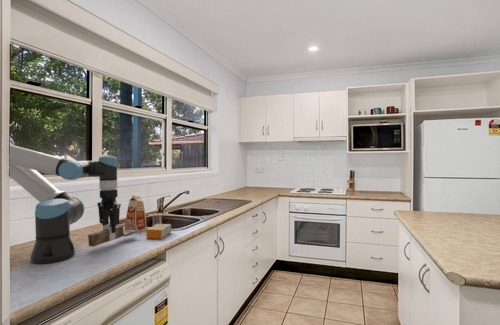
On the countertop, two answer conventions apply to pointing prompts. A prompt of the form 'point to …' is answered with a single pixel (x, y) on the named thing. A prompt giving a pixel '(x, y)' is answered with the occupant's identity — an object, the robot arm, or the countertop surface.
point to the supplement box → (158, 231)
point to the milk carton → (135, 215)
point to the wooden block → (107, 235)
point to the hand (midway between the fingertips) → (109, 239)
